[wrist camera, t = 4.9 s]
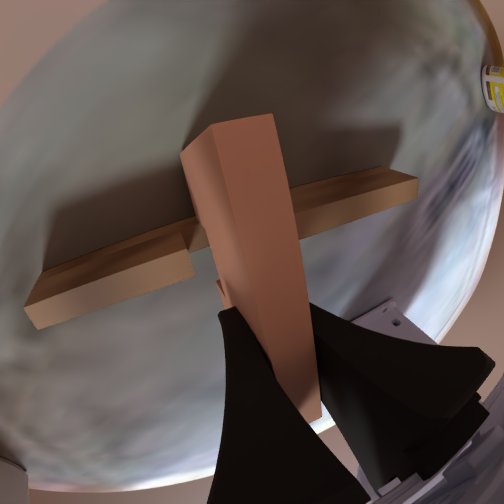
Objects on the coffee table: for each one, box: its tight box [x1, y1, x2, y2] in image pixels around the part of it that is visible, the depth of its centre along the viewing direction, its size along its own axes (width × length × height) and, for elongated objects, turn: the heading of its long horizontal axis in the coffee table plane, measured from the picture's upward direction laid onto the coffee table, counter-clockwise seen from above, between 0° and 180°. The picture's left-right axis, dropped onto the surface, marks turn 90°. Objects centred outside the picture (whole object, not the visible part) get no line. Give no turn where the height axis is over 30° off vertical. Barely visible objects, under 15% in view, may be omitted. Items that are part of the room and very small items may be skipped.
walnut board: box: [23, 167, 418, 330], centre depth 12 cm, size 20×1×3 cm, turn 99°
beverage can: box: [0, 457, 29, 504], centre depth 9 cm, size 6×6×12 cm
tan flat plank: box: [180, 113, 322, 424], centre depth 9 cm, size 9×1×7 cm, turn 9°
